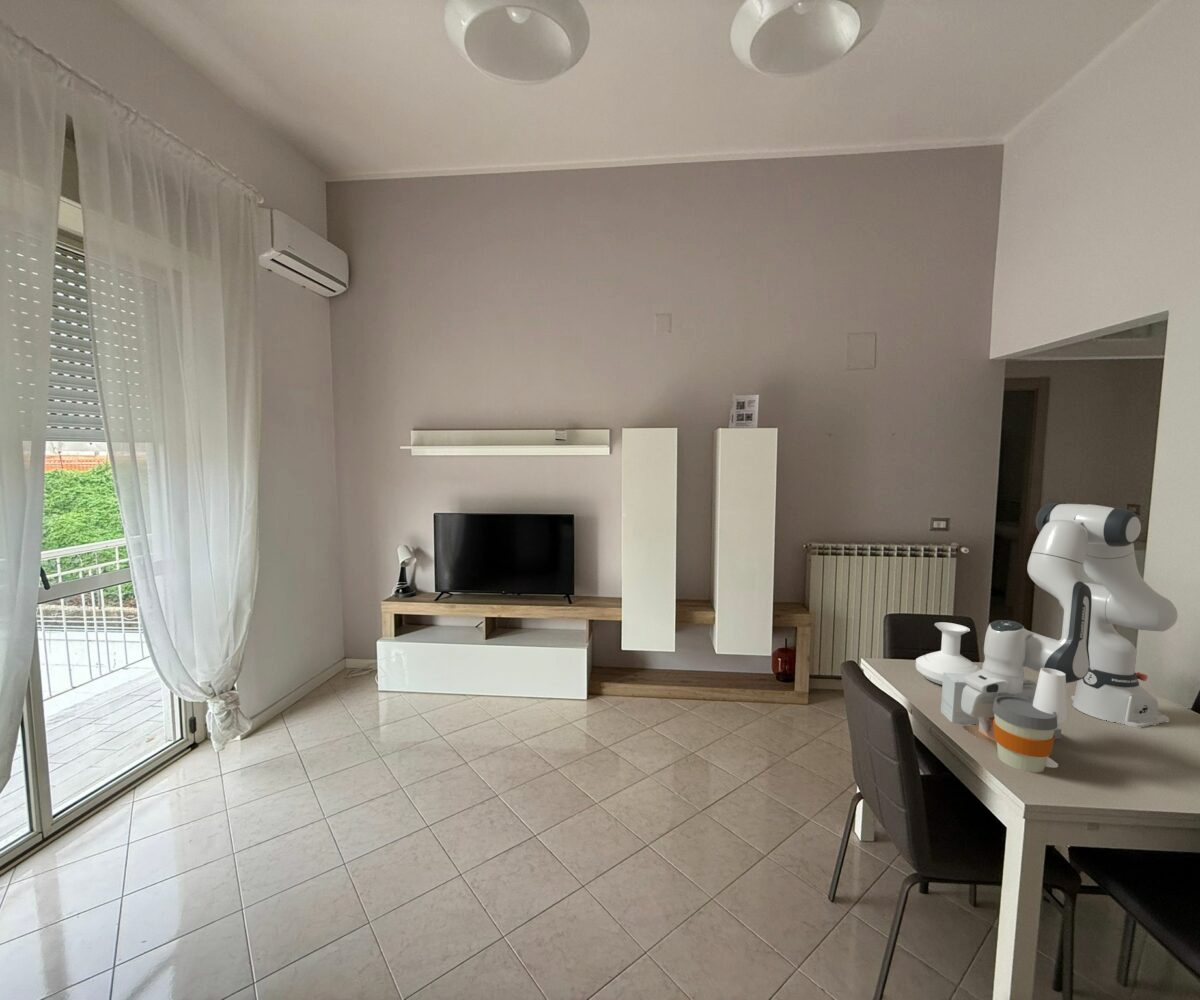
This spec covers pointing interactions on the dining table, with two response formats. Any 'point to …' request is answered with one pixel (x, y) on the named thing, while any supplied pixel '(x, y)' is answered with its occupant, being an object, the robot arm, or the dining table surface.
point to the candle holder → (946, 655)
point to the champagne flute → (1051, 697)
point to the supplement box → (955, 699)
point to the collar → (988, 733)
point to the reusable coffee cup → (1023, 733)
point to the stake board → (980, 735)
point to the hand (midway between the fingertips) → (998, 729)
